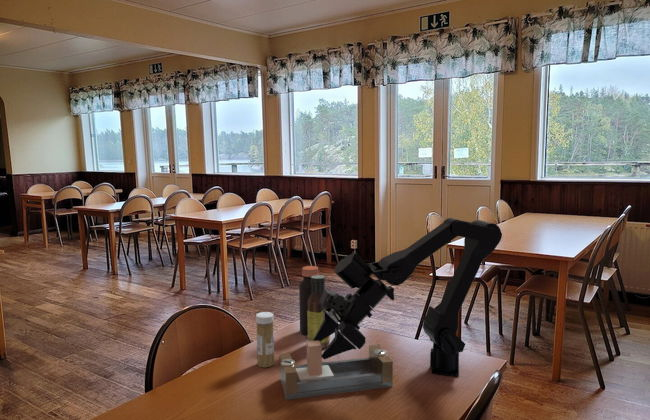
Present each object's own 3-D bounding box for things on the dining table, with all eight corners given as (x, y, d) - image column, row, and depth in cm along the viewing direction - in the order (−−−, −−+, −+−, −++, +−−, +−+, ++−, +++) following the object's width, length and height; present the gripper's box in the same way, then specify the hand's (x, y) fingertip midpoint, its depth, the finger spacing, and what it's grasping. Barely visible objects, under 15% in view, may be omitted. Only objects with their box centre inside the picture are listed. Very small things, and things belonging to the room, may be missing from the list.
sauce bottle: (329, 350, 133) (329, 280, 130) (307, 350, 133) (306, 280, 131) (329, 340, 139) (329, 273, 137) (308, 340, 140) (307, 273, 137)
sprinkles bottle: (274, 367, 123) (273, 316, 121) (256, 368, 122) (255, 317, 120) (274, 359, 127) (273, 310, 125) (256, 360, 126) (255, 311, 125)
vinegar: (295, 331, 147) (294, 267, 144) (313, 326, 151) (312, 264, 148) (308, 338, 141) (307, 271, 139) (326, 332, 146) (326, 268, 143)
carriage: (328, 372, 116) (327, 337, 115) (333, 382, 111) (333, 346, 110) (295, 375, 115) (295, 340, 114) (299, 386, 109) (299, 349, 108)
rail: (379, 367, 122) (379, 342, 121) (393, 386, 112) (394, 359, 111) (278, 379, 116) (278, 352, 115) (284, 400, 107) (284, 371, 106)
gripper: (331, 268, 120) (288, 314, 119) (351, 289, 102) (301, 344, 101) (361, 297, 123) (319, 342, 122) (386, 322, 105) (337, 375, 104)
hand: (318, 349), depth 112 cm, fingers open, 9 cm apart
